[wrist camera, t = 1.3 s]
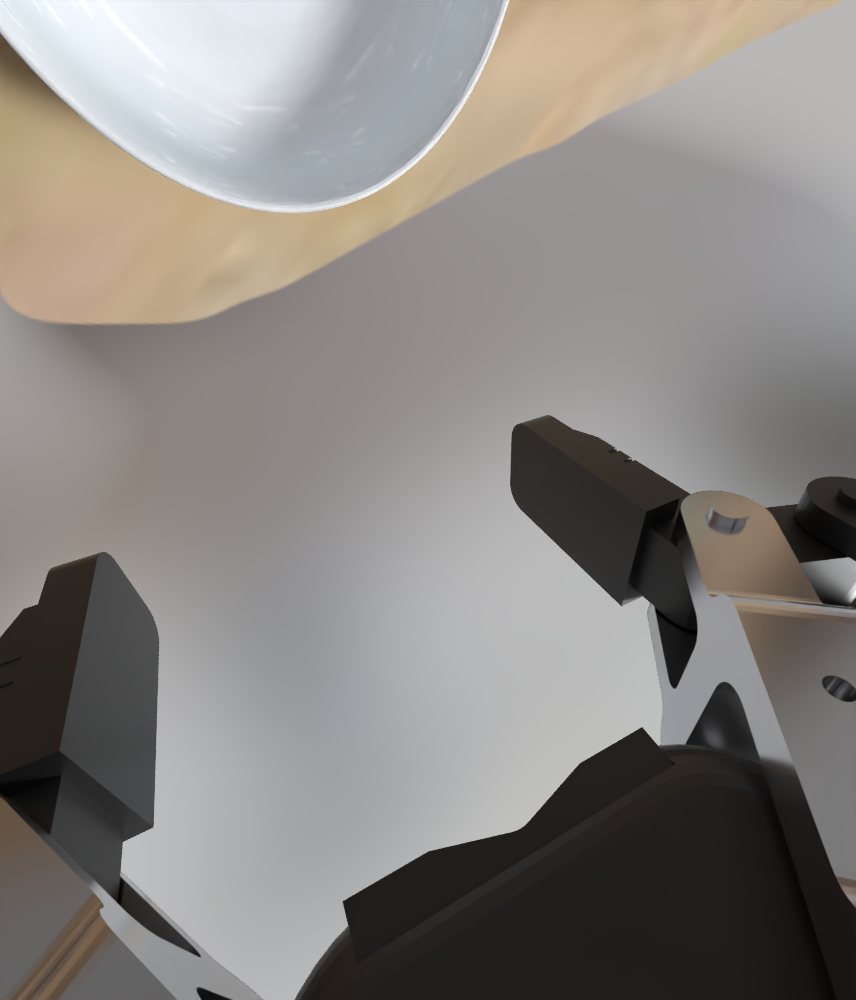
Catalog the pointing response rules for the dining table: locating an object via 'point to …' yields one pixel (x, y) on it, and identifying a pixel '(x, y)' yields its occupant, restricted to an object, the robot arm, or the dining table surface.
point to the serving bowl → (262, 86)
